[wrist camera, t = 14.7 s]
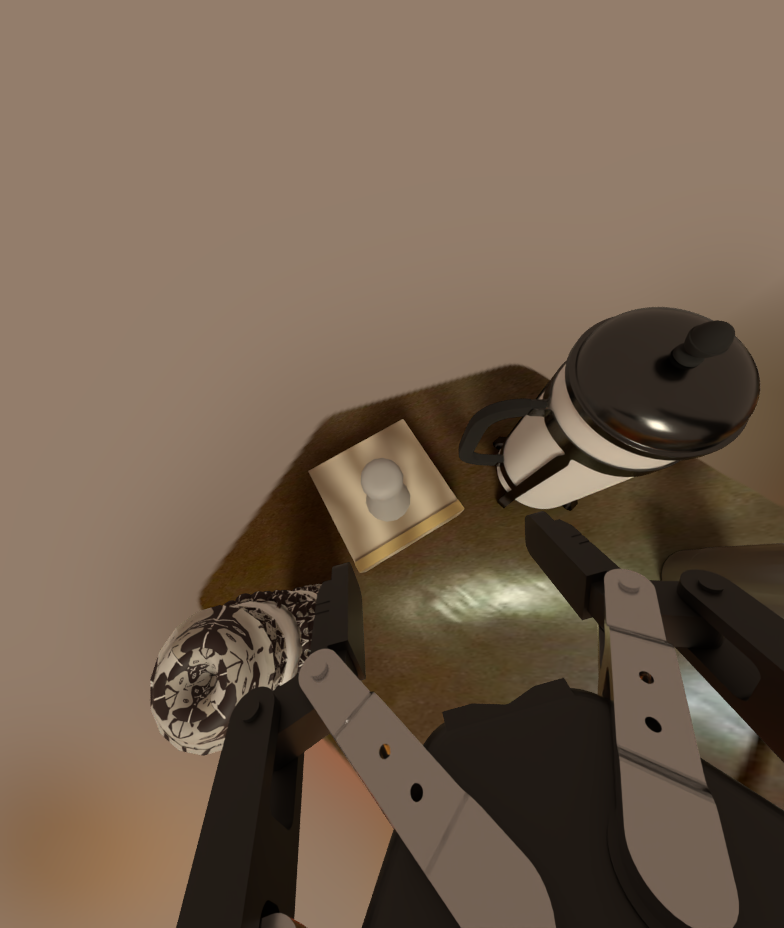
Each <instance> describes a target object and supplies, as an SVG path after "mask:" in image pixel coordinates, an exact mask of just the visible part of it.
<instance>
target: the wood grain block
mask: <svg viewBox="0 0 784 928" xmlns="http://www.w3.org/2000/svg"><path fill="white" fill-rule="evenodd" d="M379 458H386V459H390V460H392V461H393V462H395V463H396V464H397V465H398V466H399V467H400V469H401V471H402V473H403V484H405V485H406V486H407V489H408V491H409V493H410V506H409V508H408V509H407V511H406V513H405V514H404V515H403V516H402V517H400V518H399V519H397V520H394V521H388V522H386V521H383V520H379V519H377V518H375V517H374V516H373V515H372V514H371V513H370V512H369V510H368V507H367V504H366V495H367V494H365V493H364V491H363V488H362V486H361V472H362V470H363V469H364V467H365V466H366V464H368V463H369V462H371V461H372V460H373V459H379ZM308 472H309V474H310V476H311V477H312V479H313V481H314V483H315V485H316V487H317V489H318V491H319V493H320V495H321V497H322V499H323V501H324V503H325V505H326V507H327V509H328V511H329V513H330V515H331V517H332V519H333V521H334V523H335V525H336V527H337V529H338V531H339V533H340V535H341V537H342V538H343V540H344V542H345V544H346V546H347V548H348V550H349V552H350V554H351V556H352V558H353V560H354V562H355V565H356V567H357V569H358V571H359V573H362V572H366V571H368V570H370V569H371V568H373V567H375V566H376V565H378V564H379V563H381V562H383V561H384V560H386V559H388V558H389V557H391V556H393V555H394V554H396V553H397V552H399V551H401V550H402V549H404V548H406V547H407V546H409V545H411V544H412V543H414V542H415V541H417V540H419V539H420V538H422V537H424V536H425V535H427V534H429V533H430V532H432V531H433V530H435V529H437V528H438V527H440V526H442V525H443V524H445V523H447V522H448V521H450V520H451V519H453V518H455V517H456V516H458V515H459V514H460V513H461V512H462V511H463V510H464V507H463V506H462V504H461V503H460V501H459V500H457V498H456V497H455V495H454V494H453V492H452V491H451V489H450V488H449V486H448V485H447V483H446V482H445V480H444V479H443V477H442V476H441V474H440V473H439V471H438V470H437V468H436V467H435V465H434V464H433V462H432V461H431V460H430V458H429V457H428V455H427V454H426V452H425V451H424V449H423V448H422V446H421V445H420V443H419V442H418V440H417V439H416V437H415V436H414V434H413V433H412V431H411V430H410V428H409V427H408V425H407V424H406V422H405V421H404V419H402V420H400V421H398V422H396V423H395V424H393V425H391V426H389V427H387V428H385V429H384V430H382V431H380V432H378V433H376V434H375V435H373V436H371V437H369V438H367V439H366V440H364V441H362V442H360V443H358V444H356V445H355V446H353V447H351V448H349V449H347V450H346V451H344V452H342V453H340V454H338V455H337V456H335V457H333V458H331V459H329V460H327V461H326V462H324V463H322V464H320V465H318V466H317V467H315V468H313V469H311V470H309V471H308Z"/></svg>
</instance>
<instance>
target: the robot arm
mask: <svg viewBox="0 0 784 928" xmlns="http://www.w3.org/2000/svg"><path fill="white" fill-rule="evenodd" d="M525 540H526V546H527V549H528V551H529V553H530V555H531V556H532V558H533V559H534V560H535V561H536V563H537V564H538V565H539V566H540V568H541V569H542V570H543V571H544V573H545V574H546V575H547V576H548V578H549V579H550V580H551V582H552V583H553V584H554V585H555V587H556V588H557V589H558V590H559V592H560V593H561V594H562V595H563V597H564V598H565V599H566V600H567V602H568V603H569V604H570V605H571V607H572V608H573V609H574V611H575V612H576V613H577V614H578V616H579V617H580V618H581V619H582V620H585V619H588V618H592V617H593V618H594V619H595V620H596V622H597V623H598V627H597V635H598V671H599V679H598V695H597V694H595V693H592V692H589V691H585V690H581V689H575V688H570V687H569V686H568V684H567V682H566V681H565V679H564V678H562V679H558V680H554V681H551V682H547V683H544V684H540V685H537V686H534V687H532V688H531V689H529V690H528V691H527V692H525V693H524V694H522V695H521V696H519V697H518V698H517V699H515V700H514V701H512V702H511V703H509V704H506V705H500V704H469V705H465V706H462V707H458V708H455V709H451V710H448V711H444V712H442V713H443V717H444V721H445V722H444V723H443V724H441V725H440V726H439V727H438V728H437V729H436V730H434V731H433V732H432V734H431V735H430V736H429V737H428V739H427V740H426V742H425V743H424V745H422V744H421V743H420V742H419V741H418V740H417V739H416V737H415V736H414V735H413V734H412V733H411V732H410V731H409V730H408V729H407V727H406V726H405V725H404V724H403V723H402V722H401V721H400V720H399V719H398V717H397V716H396V715H395V714H394V713H393V712H392V711H391V710H390V709H389V707H388V706H387V705H386V704H385V703H384V702H383V701H382V700H381V699H380V697H379V696H378V695H377V694H375V693H374V692H370V691H369V690H368V689H367V688H366V687H365V686H364V685H363V683H362V682H361V681H360V680H363V679H366V675H365V654H364V633H363V611H362V596H361V591H360V587H359V584H358V582H357V579H356V576H355V574H354V571H353V569H352V566H351V564H350V562H348V563H344V564H341V565H337V566H333V568H332V578H331V580H329V581H325V582H323V583H322V585H321V587H320V589H319V591H318V593H317V599H316V607H315V616H314V624H313V633H312V641H311V649H310V655H309V657H308V658H307V659H306V660H305V662H304V663H303V665H302V667H301V669H300V672H299V673H298V674H297V675H296V676H295V677H293V678H292V679H291V680H289V681H287V682H286V683H284V684H283V685H281V686H279V687H278V688H276V689H275V690H273V691H272V690H271V689H270V688H268V687H264V686H261V687H257V688H254V689H252V690H251V691H249V692H248V693H247V694H245V695H244V696H243V697H242V698H241V699H240V701H239V702H238V703H237V705H236V706H235V708H234V710H233V712H232V714H231V717H230V720H229V724H228V728H227V732H226V736H225V740H224V744H223V747H222V751H221V755H220V759H219V763H218V767H217V771H216V775H215V779H214V783H213V786H212V790H211V794H210V798H209V802H208V806H207V810H206V814H205V818H204V822H203V825H202V829H201V833H200V837H199V841H198V845H197V849H196V852H195V856H194V860H193V864H192V868H191V872H190V876H189V880H188V884H187V888H186V891H185V895H184V899H183V903H182V907H181V911H180V915H179V919H178V922H177V926H176V928H306V926H304V925H303V924H301V923H300V922H298V921H296V920H294V914H295V897H296V879H297V864H298V847H299V829H300V813H301V798H302V781H303V764H304V752H305V751H306V750H307V749H309V748H310V747H312V746H313V745H314V744H316V743H317V742H318V741H320V740H321V739H323V738H324V737H325V736H327V735H328V734H329V733H331V735H332V736H333V738H334V739H335V741H336V742H337V744H338V745H339V747H340V748H341V750H342V751H343V753H344V754H345V756H346V757H347V759H348V760H349V762H350V764H351V765H352V767H353V768H354V770H355V771H356V773H357V774H358V776H359V777H360V779H361V780H362V782H363V783H364V785H365V786H366V788H367V789H368V791H369V792H370V794H371V795H372V797H373V798H374V800H375V801H376V803H377V804H378V806H379V807H380V809H381V810H382V812H383V814H384V815H385V817H386V818H387V819H388V821H389V823H390V824H391V826H392V827H393V828H394V830H393V833H392V836H391V839H390V843H389V846H388V848H387V852H386V855H385V858H384V861H383V864H382V867H381V870H380V873H379V876H378V880H377V882H376V885H375V888H374V891H373V894H372V898H371V901H370V904H369V907H368V910H367V913H366V916H365V919H364V922H363V925H362V928H784V810H782V809H780V808H779V807H777V806H776V805H774V804H772V803H771V802H769V801H768V800H766V799H765V798H763V797H761V796H760V795H758V794H757V793H755V792H754V791H752V790H750V789H749V788H747V787H746V786H744V785H743V784H741V783H739V782H738V781H736V780H735V779H733V778H732V777H730V776H728V775H727V774H725V773H724V772H722V771H721V770H719V769H717V768H716V767H714V766H713V765H711V764H710V763H708V762H706V761H705V760H703V759H702V758H700V755H699V751H698V747H697V742H696V738H695V734H694V729H693V725H692V721H691V716H690V712H689V707H688V703H687V699H686V694H685V690H684V686H683V681H682V677H681V673H680V668H679V664H678V660H677V655H676V651H675V648H676V649H677V650H678V651H679V652H680V653H681V654H682V655H683V656H684V657H685V658H686V659H687V660H688V661H689V662H690V664H691V665H692V666H693V667H694V668H695V669H696V670H697V671H698V672H699V673H700V674H701V675H702V676H703V677H704V678H705V679H706V681H707V682H708V683H709V684H710V685H711V686H712V687H713V688H714V689H715V690H716V691H717V692H718V693H719V694H720V695H721V696H722V698H723V699H724V700H725V701H726V702H727V703H728V704H729V705H730V706H731V707H732V708H733V709H734V710H735V711H736V712H737V713H738V715H739V716H740V717H741V718H742V719H743V720H744V721H745V722H746V723H747V724H748V725H749V726H750V727H751V728H752V729H753V730H754V732H755V733H756V734H757V735H758V736H759V737H760V738H761V739H762V740H763V741H764V742H765V743H766V744H767V745H768V746H769V747H770V749H771V750H772V751H773V752H774V753H775V754H776V755H777V756H778V757H779V758H780V759H781V760H782V761H783V762H784V543H776V544H759V545H742V546H725V547H709V548H703V549H695V550H682V551H678V552H676V553H674V554H672V555H671V556H669V557H668V559H667V560H666V561H665V563H664V565H663V568H662V581H653V580H648V579H647V578H646V577H644V576H643V575H641V574H639V573H637V572H634V571H631V570H627V569H621V568H619V567H618V566H617V565H616V564H615V563H614V562H613V561H611V560H610V559H609V558H608V557H607V556H606V555H605V554H604V553H602V552H601V551H600V550H599V549H598V548H597V547H596V546H595V545H593V544H592V543H591V542H589V540H588V539H587V538H586V537H585V536H583V535H582V534H581V533H580V532H579V531H578V530H577V529H576V528H574V527H573V526H572V525H570V524H568V523H566V522H564V521H562V520H560V519H559V520H555V521H554V520H553V519H552V518H551V517H550V516H549V515H548V514H547V513H546V512H544V511H542V512H538V513H534V514H531V515H527V516H526V517H525ZM674 647H675V648H674Z"/></svg>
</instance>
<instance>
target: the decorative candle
mask: <svg viewBox="0 0 784 928" xmlns="http://www.w3.org/2000/svg"><path fill="white" fill-rule="evenodd" d="M321 585H322V584H316V585H309V586H304V587H300V588H299V587H298V588H295V589H294V590H293V591H287V590H281V591H280V590H276V591H274V592H271V591H265V592H260V591H258V592H255V593H253V594H252V595H250V594H247V593H245V594H241V595H239V596H238V597H237V598H236V601H229V602H227V603H225V604H224V606H221V605H219V606H215V607H212V608H209V609H205V610H202V611H198V612H197V613H195V614H194V615H192V616H191V617H190V618H188V619H187V620H186V621H184V622H183V623H182V624H180V625H179V626H178V627H176V629H175V630H174V631H173V633H172V634H171V636H170V637H169V639H168V640H167V642H166V643H165V644H164V646H163V647H162V649H161V650H160V652H159V655H158V658H157V662H156V664H155V667H154V670H153V674H152V677H151V711H152V713H153V716H154V718H155V721H156V724H157V726H158V729H159V731H160V734H161V735H162V736H164V737H165V738H166V739H167V740H168V741H169V742H170V743H171V744H173V745H174V746H175V747H176V748H177V749H178V750H179V751H184V752H189V753H194V754H199V755H207V754H210V753H214V752H217V751H220V750H222V747H223V744H224V740H225V736H226V732H227V728H228V724H229V720H230V717H231V714H232V712H233V710H234V708H235V706H236V705H237V703H238V702H239V701H240V699H241V698H242V697H243V696H244V695H245V694H247V693H248V692H249V691H251V690H252V689H254V688H257V687H261V686H264V687H268V688H270V689H271V690H272V691H273V690H275V689H276V688H278V687H279V686H281V685H283V684H284V683H286V682H287V681H289V680H291V679H292V678H293V677H295V676H296V675H297V674H298V673H299V672H300V669H301V667H302V665H303V663H304V662H305V660H306V659H307V658H308V657H309V655H310V649H311V641H312V633H313V624H314V616H315V607H316V599H317V593H318V591H319V589H320V587H321Z"/></svg>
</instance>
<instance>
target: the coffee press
mask: <svg viewBox="0 0 784 928" xmlns="http://www.w3.org/2000/svg"><path fill="white" fill-rule="evenodd" d="M759 395H760V377H759V373H758V369H757V366H756V363H755V362H754V359H753V357H752V356H751V354H750V353H749V351H748V349H747V348H746V347H745V346H744V344H743V343H742V342H741V341H740V340H739V339H738V338H737V337H736V336H735V330H734V328H733V327H732V326H731V325H730V324H729V323H727V322H724V321H713V320H711V319H709V318H707V317H704V316H702V315H699V314H697V313H693V312H690V311H686V310H682V309H677V308H668V307H649V308H641V309H636V310H631V311H628V312H625V313H622V314H620V315H617V316H615V317H612V318H608V319H606V320H603V321H601V322H599V323H597V324H595V325H594V326H593V327H591V328H590V329H588V330H587V331H586V332H585V333H584V334H583V335H582V336H581V337H580V338H579V339H578V341H577V342H576V343H575V345H574V346H573V348H572V350H571V351H570V353H569V356H568V358H567V361H566V362H564V364H562V366H561V367H560V368H559V369H558V371H557V372H556V373H555V375H554V376H553V377H552V379H551V380H550V381H549V383H548V384H547V385H546V386H545V388H544V389H543V390H542V391H541V393H540V394H539V395H538V397H537V398H536V399H534V400H531V399H512V400H506V401H501V402H497V403H494V404H491V405H489V406H487V407H485V408H483V409H481V410H480V411H478V412H477V413H476V414H475V415H474V416H473V417H472V418H471V420H470V421H469V423H468V425H467V427H466V430H465V432H464V434H463V437H462V439H461V442H460V445H459V458H460V459H461V460H462V461H464V462H466V463H470V464H476V465H491V466H496V467H497V473H498V477H499V480H500V482H501V484H502V486H503V487H504V489H505V490H506V491H507V493H505V494H504V495H503V496H502V497H501V498H500V499H499V500H498V501H497V503H498V504H500V505H501V506H502V507H503V508H505V507H506V506H507V505H508V504H510V503H511V502H512V501H513V500H515V499H516V500H517V501H519V502H520V503H522V504H524V505H527V506H530V507H533V508H540V509H549V508H554V507H558V506H561V505H562V506H563V507H564V508H565V509H567V510H569V511H571V510H572V509H573V508H574V507H575V506H576V505H577V504H578V502H577V499H580V498H582V497H585V496H587V495H590V494H592V493H595V492H598V491H600V490H603V489H605V488H608V487H610V486H613V485H615V484H618V483H620V482H623V481H626V480H628V479H631V478H633V477H638V476H643V475H647V474H650V473H653V472H656V471H659V470H661V469H664V468H666V467H669V466H671V465H674V464H676V463H677V462H679V461H681V460H689V459H694V458H698V457H702V456H704V455H707V454H710V453H713V452H715V451H718V450H720V449H722V448H724V447H725V446H727V445H728V444H729V443H731V442H732V441H734V440H735V439H736V438H737V437H738V435H740V433H741V432H742V431H743V429H744V428H745V426H746V424H747V422H748V420H749V418H750V417H751V415H752V414H753V412H754V410H755V408H756V406H757V403H758V400H759ZM522 416H523V417H522ZM513 417H522V418H521V419H520V420H519V422H518V423H517V424H516V426H515V427H514V428H513V430H512V431H511V432H510V434H509V435H508V436H507V437H498V438H497V439H496V440H495V441H494V442H493V445H494V447H495V448H497V449H499V450H500V452H499V454H497V455H488V454H478V453H475V452H473V451H474V450H475V448H476V446H477V444H478V442H479V441H480V439H481V437H482V435H483V434H484V432H485V430H486V429H487V428H488V427H489V426H490V425H492V424H493V423H495V422H497V421H500V420H503V419H507V418H513ZM503 442H504V443H503ZM658 467H659V468H658Z"/></svg>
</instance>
